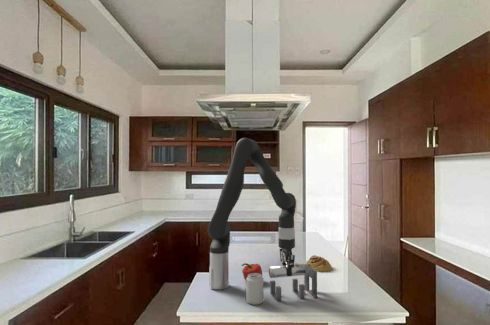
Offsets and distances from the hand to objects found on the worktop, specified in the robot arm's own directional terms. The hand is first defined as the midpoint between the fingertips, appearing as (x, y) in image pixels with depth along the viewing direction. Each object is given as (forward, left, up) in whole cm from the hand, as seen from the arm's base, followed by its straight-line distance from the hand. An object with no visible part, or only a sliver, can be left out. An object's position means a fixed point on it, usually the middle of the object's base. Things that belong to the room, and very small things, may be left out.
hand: (287, 274), depth 160 cm
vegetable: (-11, +22, -10) cm, 27 cm away
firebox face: (+11, 0, -10) cm, 15 cm away
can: (-16, -3, -10) cm, 19 cm away
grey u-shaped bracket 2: (+5, 0, -10) cm, 11 cm away
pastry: (+32, +35, -10) cm, 48 cm away
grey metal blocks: (-6, 0, -10) cm, 11 cm away
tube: (0, 0, -1) cm, 1 cm away
